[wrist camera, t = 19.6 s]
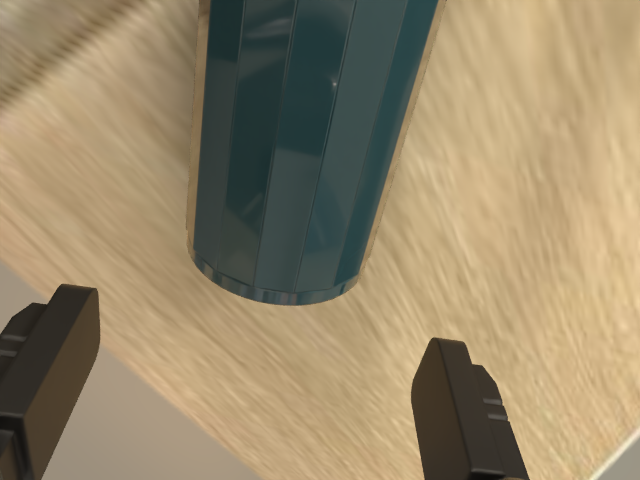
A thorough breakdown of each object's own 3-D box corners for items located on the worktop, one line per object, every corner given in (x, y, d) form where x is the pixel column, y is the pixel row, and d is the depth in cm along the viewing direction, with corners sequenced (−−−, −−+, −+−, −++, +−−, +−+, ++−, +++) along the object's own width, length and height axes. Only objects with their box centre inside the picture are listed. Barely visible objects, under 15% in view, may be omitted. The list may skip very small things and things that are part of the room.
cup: (166, 289, 16) (180, -58, 11) (204, 187, 22) (226, -81, 16) (370, 319, 17) (474, 4, 12) (359, 213, 22) (428, -37, 17)
